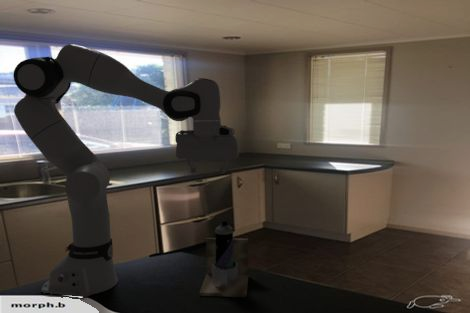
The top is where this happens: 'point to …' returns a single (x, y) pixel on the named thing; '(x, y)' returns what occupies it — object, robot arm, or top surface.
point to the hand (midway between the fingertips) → (207, 172)
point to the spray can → (224, 245)
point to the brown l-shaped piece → (242, 259)
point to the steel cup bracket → (225, 276)
